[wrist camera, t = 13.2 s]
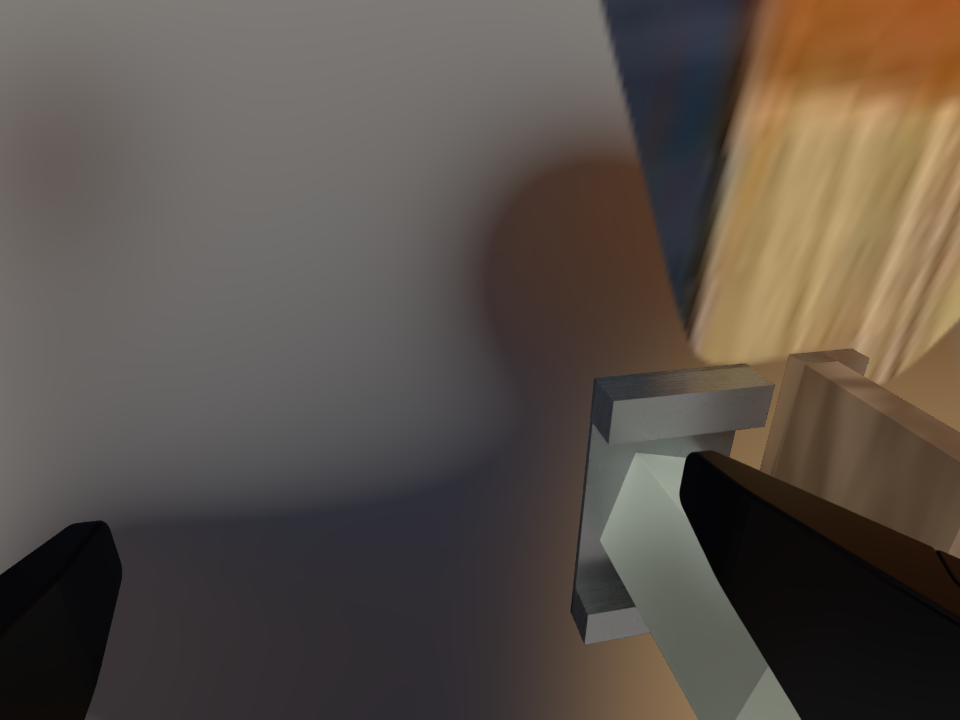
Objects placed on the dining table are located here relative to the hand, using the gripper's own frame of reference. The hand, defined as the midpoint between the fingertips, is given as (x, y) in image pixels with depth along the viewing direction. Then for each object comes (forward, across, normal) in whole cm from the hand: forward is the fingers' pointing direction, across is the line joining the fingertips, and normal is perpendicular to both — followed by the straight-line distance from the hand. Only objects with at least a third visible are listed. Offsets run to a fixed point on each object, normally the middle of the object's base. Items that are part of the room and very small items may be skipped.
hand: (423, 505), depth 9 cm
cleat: (+13, -12, +12) cm, 21 cm away
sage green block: (+13, -12, +12) cm, 21 cm away
